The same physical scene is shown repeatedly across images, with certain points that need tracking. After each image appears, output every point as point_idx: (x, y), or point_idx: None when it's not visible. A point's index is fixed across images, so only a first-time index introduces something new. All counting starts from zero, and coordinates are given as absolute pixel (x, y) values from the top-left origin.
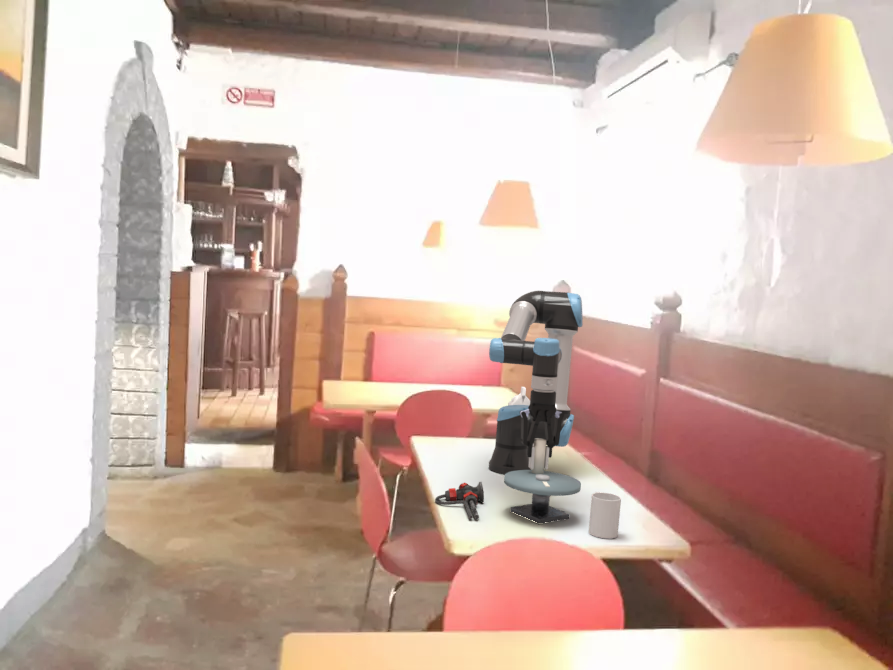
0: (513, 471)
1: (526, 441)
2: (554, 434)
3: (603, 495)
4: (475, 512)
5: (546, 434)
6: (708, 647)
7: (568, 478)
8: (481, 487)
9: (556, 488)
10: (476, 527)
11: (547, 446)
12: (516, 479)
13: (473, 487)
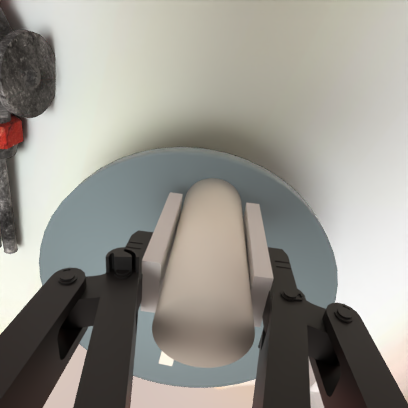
0: (98, 181)
1: (77, 335)
2: (342, 396)
3: (318, 403)
4: (3, 239)
5: (261, 381)
6: None
7: (306, 291)
8: (8, 109)
9: (188, 375)
10: (13, 279)
11: (267, 297)
12: None
13: None
